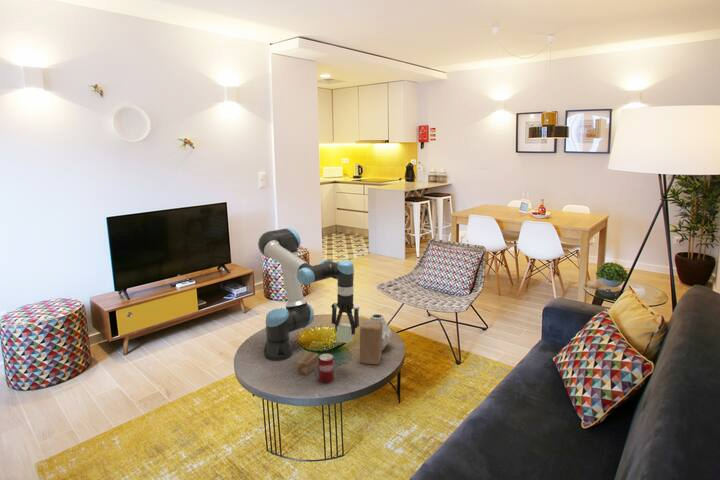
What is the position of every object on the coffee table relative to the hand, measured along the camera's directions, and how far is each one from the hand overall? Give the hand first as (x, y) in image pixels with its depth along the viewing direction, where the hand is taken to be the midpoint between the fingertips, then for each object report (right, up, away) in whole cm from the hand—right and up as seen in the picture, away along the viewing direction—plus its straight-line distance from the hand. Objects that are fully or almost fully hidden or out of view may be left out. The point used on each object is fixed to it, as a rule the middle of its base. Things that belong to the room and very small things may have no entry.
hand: (345, 338), depth 224 cm
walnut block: (-18, -16, +5) cm, 25 cm away
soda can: (-9, -19, -5) cm, 21 cm away
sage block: (0, 0, 0) cm, 0 cm away
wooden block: (+13, -14, +15) cm, 24 cm away
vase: (+16, -11, +28) cm, 34 cm away
